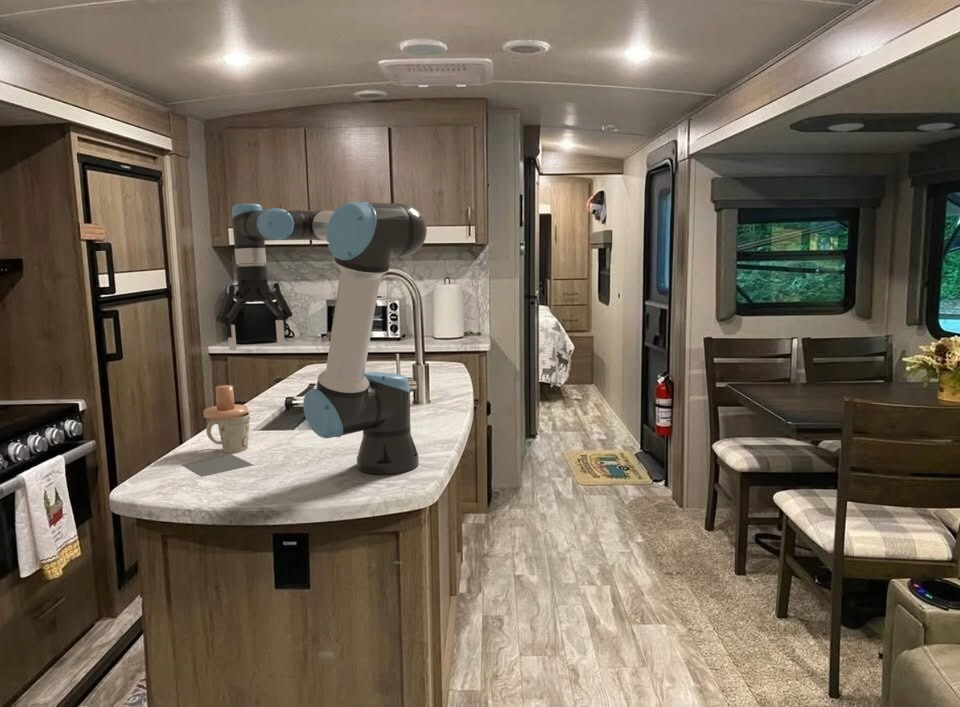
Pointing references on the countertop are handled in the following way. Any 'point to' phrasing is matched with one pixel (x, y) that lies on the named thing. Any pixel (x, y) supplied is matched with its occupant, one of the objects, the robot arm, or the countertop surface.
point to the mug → (231, 433)
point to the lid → (225, 405)
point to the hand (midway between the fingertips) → (257, 347)
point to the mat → (216, 465)
